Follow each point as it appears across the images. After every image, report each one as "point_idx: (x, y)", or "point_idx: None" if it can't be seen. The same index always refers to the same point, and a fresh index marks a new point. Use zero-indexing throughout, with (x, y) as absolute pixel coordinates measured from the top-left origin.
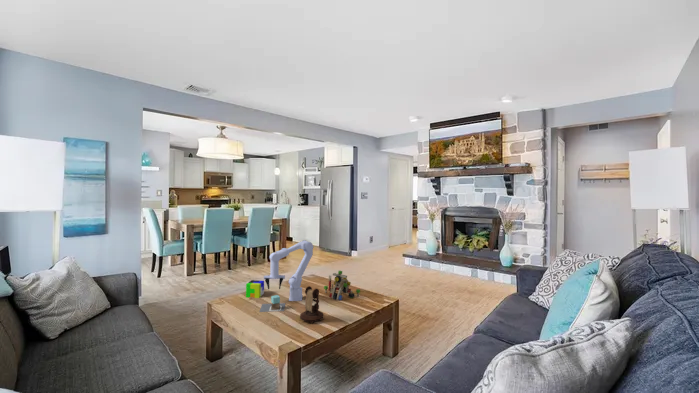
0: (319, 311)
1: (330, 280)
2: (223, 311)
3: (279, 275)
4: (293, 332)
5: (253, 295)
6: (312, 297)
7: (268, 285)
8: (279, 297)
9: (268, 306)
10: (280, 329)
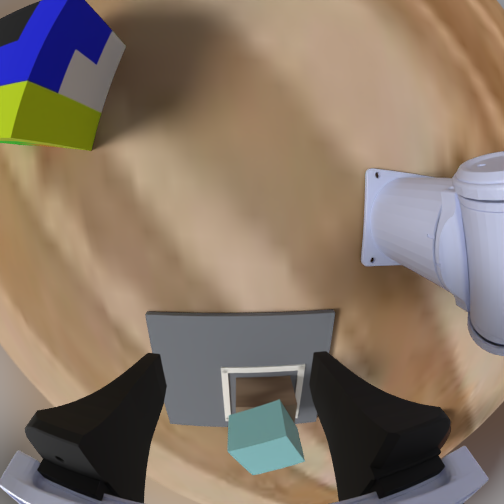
0: (444, 439)
1: None
2: (11, 356)
3: None
4: (326, 501)
5: (46, 145)
6: None
7: (149, 435)
8: (300, 459)
9: (205, 365)
10: (290, 499)
